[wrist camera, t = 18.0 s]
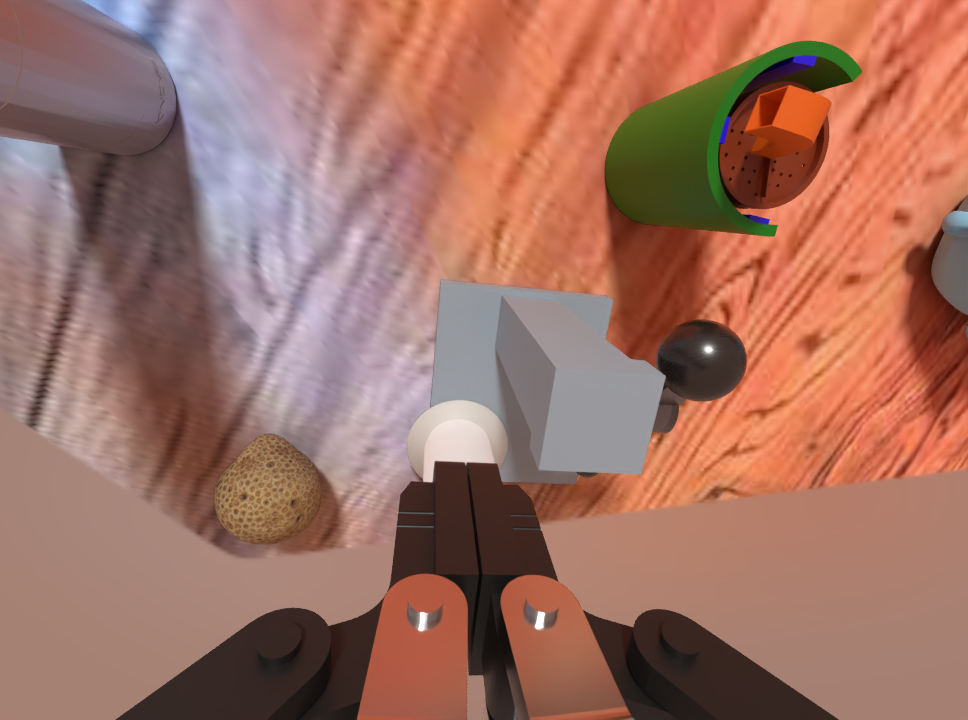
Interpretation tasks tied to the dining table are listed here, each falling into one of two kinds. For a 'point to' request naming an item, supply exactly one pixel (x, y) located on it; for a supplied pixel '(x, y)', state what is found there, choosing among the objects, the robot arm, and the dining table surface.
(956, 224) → the decorative pot
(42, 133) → the robot arm
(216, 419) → the dining table surface
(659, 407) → the lever
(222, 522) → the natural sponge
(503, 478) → the press
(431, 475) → the can
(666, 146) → the motor
